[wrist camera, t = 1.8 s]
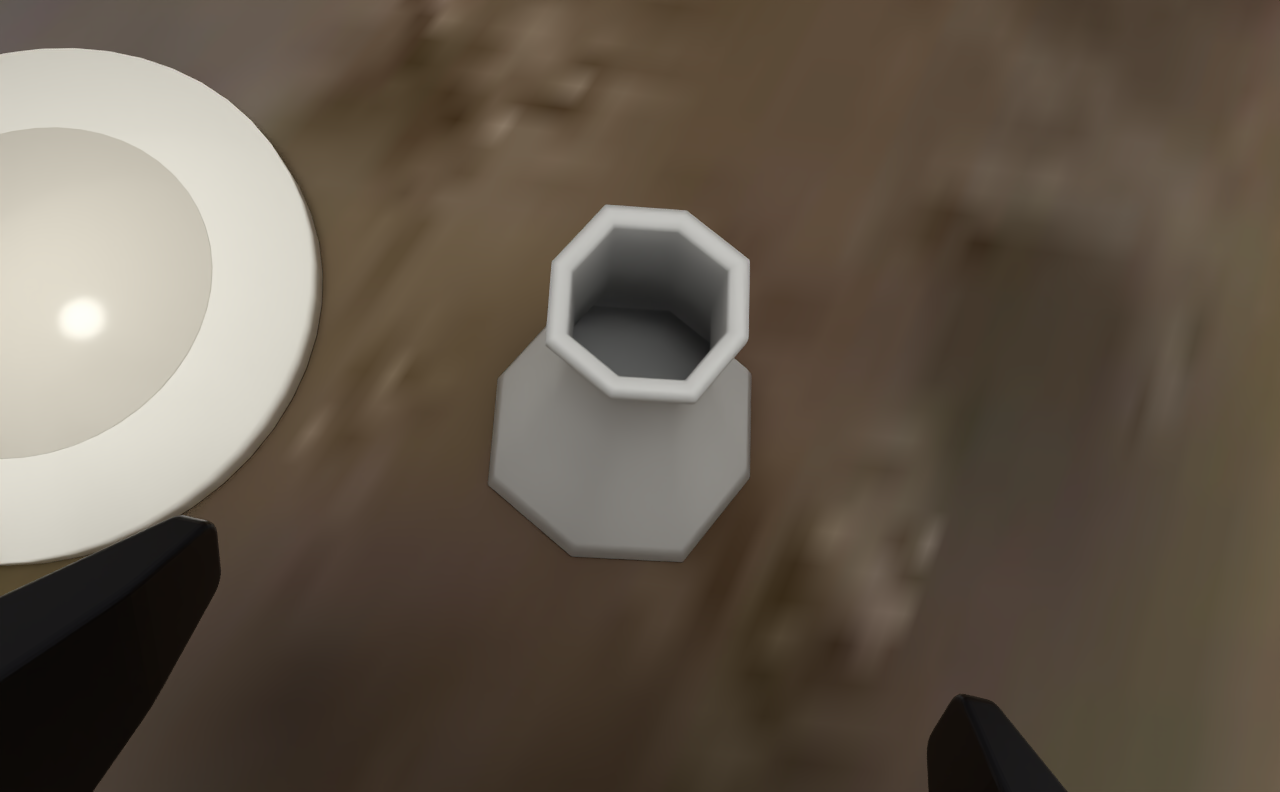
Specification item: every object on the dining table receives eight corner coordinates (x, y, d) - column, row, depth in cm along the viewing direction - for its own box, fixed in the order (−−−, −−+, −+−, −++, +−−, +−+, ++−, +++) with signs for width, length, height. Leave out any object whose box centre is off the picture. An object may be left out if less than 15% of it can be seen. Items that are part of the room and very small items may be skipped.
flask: (550, 266, 23) (522, 25, 13) (790, 359, 23) (941, 183, 13) (443, 505, 21) (319, 429, 11) (701, 609, 21) (799, 621, 11)
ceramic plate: (-71, 686, 19) (-108, 691, 18) (-323, 246, 21) (-370, 228, 20) (423, 350, 22) (415, 338, 21) (156, -10, 24) (136, -38, 23)
